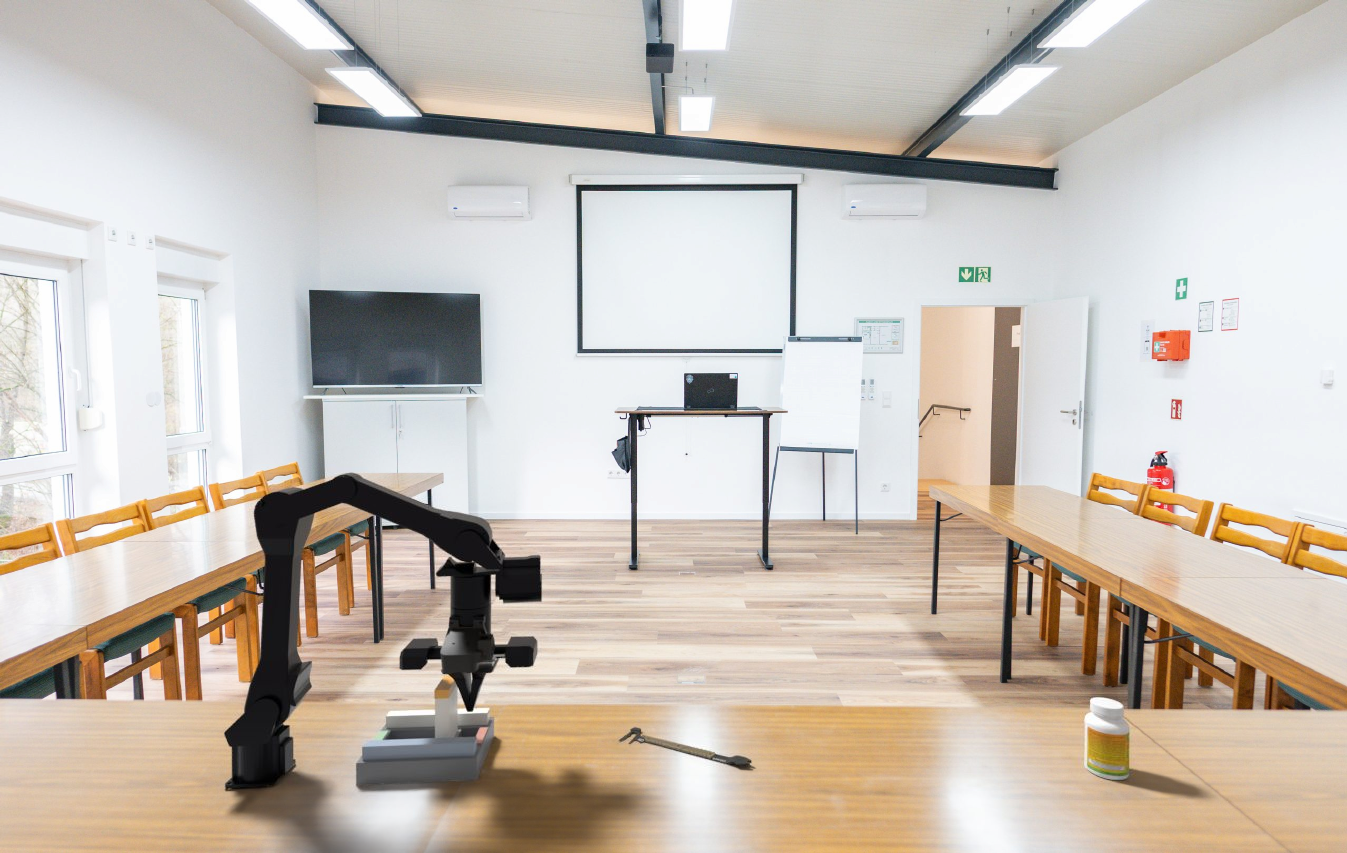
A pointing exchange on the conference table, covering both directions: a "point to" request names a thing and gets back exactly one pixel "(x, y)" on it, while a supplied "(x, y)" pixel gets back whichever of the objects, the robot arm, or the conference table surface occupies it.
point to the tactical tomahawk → (685, 748)
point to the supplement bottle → (1106, 740)
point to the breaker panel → (425, 764)
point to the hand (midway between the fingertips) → (470, 710)
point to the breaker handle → (446, 709)
